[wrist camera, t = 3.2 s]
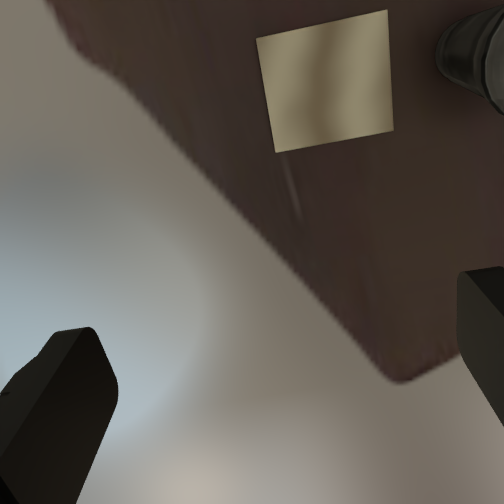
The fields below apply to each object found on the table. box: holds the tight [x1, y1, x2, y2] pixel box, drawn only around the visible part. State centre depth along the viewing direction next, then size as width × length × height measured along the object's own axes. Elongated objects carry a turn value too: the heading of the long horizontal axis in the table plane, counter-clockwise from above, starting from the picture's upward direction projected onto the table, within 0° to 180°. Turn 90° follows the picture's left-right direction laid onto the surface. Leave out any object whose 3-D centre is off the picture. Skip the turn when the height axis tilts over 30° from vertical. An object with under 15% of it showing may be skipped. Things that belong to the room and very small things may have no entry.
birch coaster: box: [256, 10, 394, 153], centre depth 35 cm, size 10×9×1 cm
